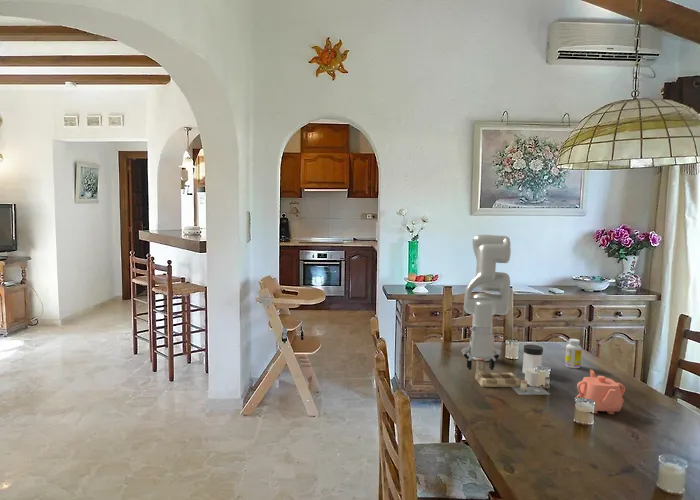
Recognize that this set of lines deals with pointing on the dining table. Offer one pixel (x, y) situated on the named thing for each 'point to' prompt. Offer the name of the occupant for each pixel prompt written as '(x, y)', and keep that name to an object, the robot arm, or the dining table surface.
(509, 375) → the peg board
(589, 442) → the dining table surface
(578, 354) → the supplement bottle
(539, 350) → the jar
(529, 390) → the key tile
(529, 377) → the white cube
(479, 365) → the peg
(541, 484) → the dining table surface
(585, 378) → the teapot
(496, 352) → the robot arm
